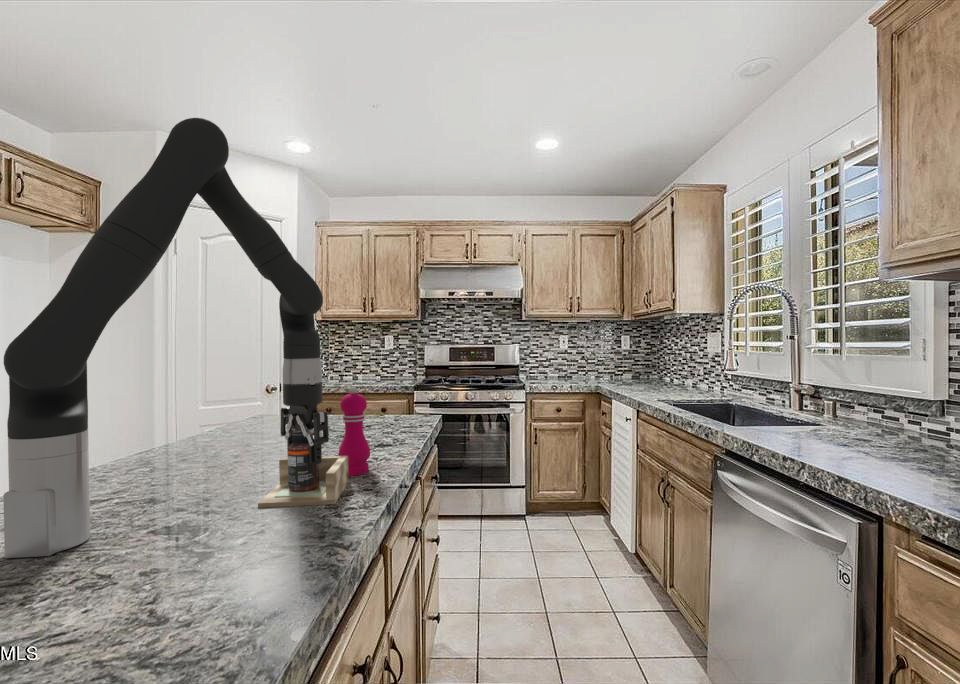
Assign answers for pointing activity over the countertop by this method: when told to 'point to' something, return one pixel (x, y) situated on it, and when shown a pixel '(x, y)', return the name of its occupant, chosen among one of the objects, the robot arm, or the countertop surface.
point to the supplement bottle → (301, 465)
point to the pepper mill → (354, 433)
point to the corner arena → (327, 492)
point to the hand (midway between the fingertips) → (304, 460)
